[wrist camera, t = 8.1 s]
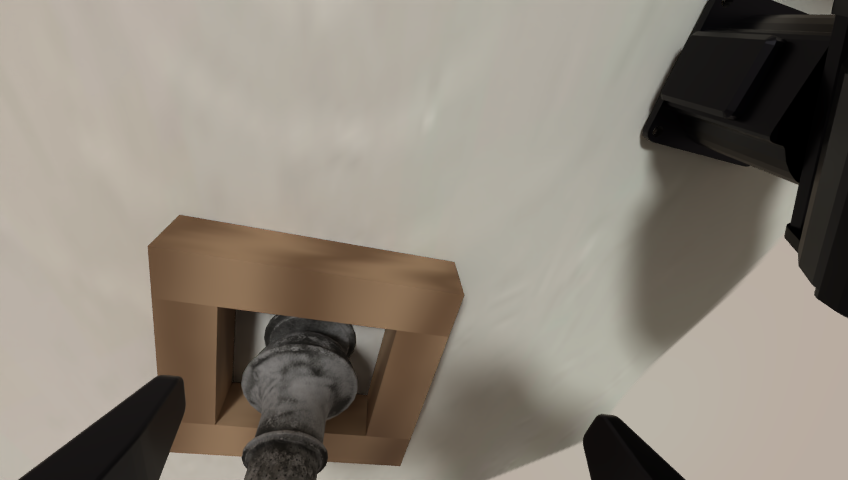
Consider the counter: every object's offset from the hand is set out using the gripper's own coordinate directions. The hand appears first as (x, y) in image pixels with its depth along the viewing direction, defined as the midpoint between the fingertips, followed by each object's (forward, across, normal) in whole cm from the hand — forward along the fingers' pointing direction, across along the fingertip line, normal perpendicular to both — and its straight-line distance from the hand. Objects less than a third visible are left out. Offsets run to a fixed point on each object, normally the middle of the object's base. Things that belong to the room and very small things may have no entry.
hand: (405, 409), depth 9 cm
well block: (+12, +3, +11) cm, 17 cm away
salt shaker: (+13, +3, +10) cm, 17 cm away
